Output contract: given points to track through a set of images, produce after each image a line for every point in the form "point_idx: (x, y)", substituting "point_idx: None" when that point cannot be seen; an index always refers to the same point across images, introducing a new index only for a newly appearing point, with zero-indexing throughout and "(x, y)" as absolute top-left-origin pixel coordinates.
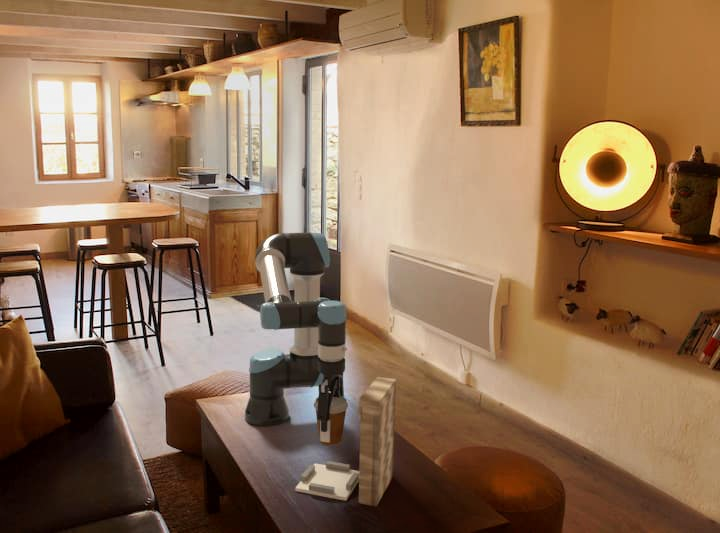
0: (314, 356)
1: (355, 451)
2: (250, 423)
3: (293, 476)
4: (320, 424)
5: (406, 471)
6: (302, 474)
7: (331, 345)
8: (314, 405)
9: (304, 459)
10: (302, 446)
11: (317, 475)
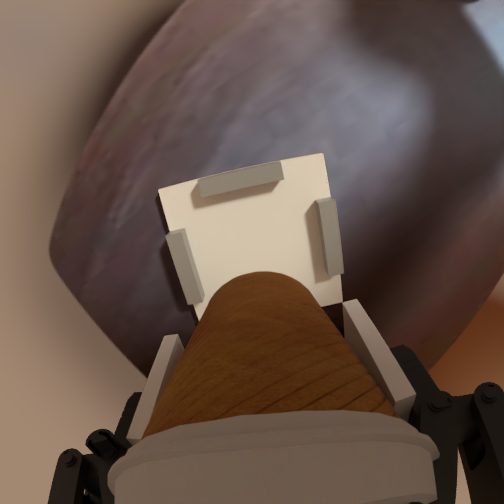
0: None
1: (442, 215)
2: None
3: (228, 129)
4: (138, 408)
5: None
6: (208, 178)
7: None
8: (135, 461)
9: (340, 101)
10: (400, 63)
11: (258, 203)
